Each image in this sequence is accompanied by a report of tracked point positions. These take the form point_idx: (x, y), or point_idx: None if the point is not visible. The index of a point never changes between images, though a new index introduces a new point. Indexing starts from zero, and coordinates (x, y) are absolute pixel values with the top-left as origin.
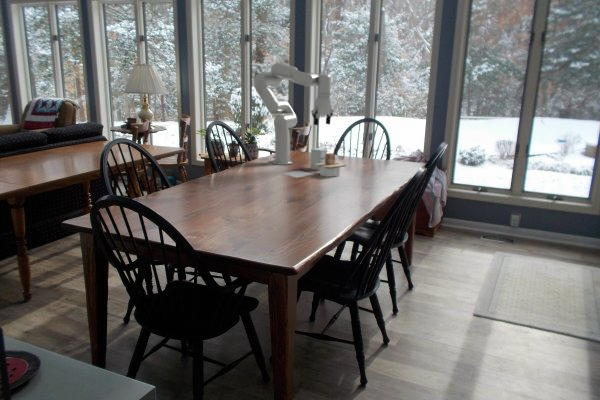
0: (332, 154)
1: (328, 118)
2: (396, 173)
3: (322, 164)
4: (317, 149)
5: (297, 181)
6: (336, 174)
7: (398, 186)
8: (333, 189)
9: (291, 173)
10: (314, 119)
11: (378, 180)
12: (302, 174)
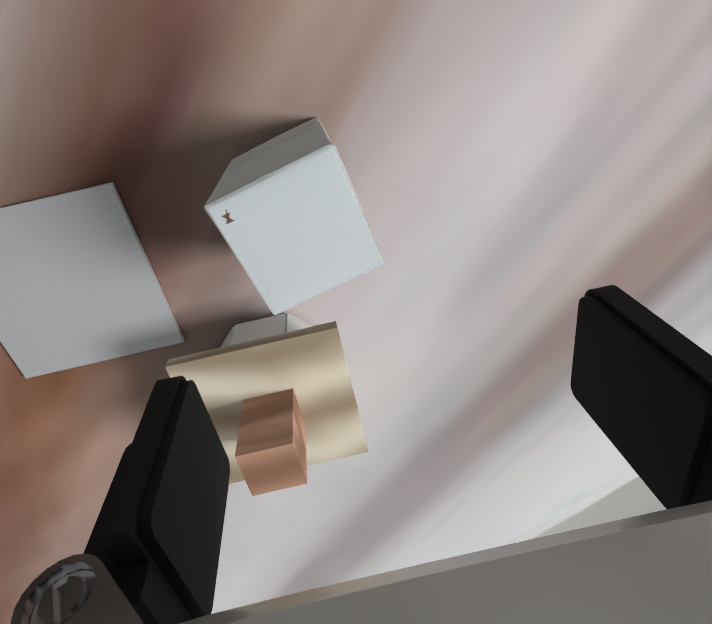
0: (279, 487)
1: (668, 474)
2: None
3: (218, 404)
4: (265, 257)
5: (17, 433)
6: None
7: None
8: None
9: (14, 258)
10: (101, 552)
11: (443, 512)
12: (95, 313)
